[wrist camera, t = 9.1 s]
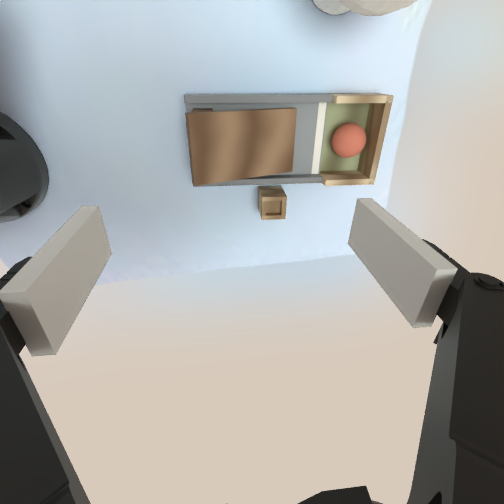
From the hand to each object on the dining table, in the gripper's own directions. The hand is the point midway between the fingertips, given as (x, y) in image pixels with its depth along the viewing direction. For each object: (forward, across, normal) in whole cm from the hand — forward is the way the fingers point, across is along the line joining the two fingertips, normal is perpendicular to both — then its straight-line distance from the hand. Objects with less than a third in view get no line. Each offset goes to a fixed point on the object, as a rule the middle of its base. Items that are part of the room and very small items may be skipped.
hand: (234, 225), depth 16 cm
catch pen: (+29, +17, -1) cm, 34 cm away
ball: (+26, +17, -1) cm, 31 cm away
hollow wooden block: (+29, +7, -10) cm, 31 cm away
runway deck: (+29, +5, -1) cm, 29 cm away
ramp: (+27, +3, -1) cm, 28 cm away
